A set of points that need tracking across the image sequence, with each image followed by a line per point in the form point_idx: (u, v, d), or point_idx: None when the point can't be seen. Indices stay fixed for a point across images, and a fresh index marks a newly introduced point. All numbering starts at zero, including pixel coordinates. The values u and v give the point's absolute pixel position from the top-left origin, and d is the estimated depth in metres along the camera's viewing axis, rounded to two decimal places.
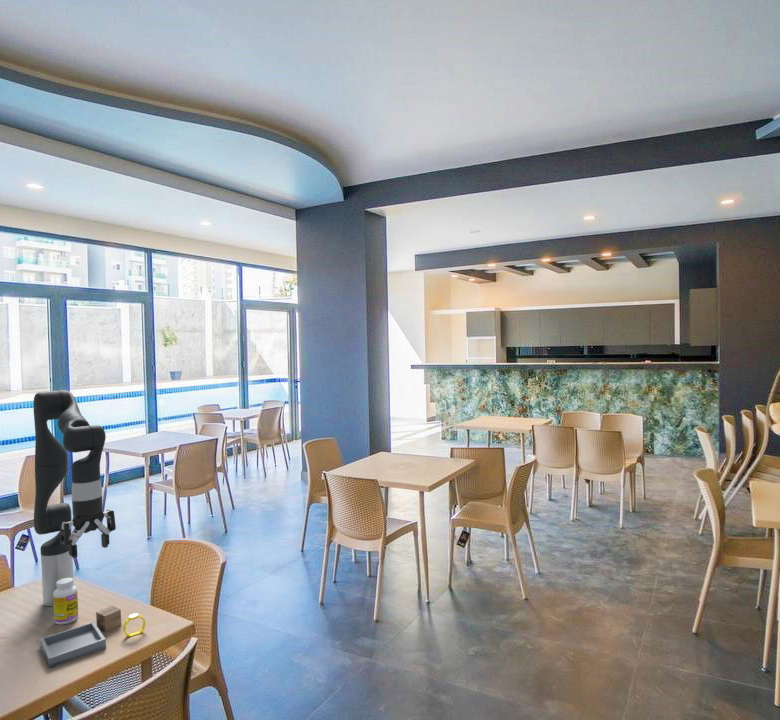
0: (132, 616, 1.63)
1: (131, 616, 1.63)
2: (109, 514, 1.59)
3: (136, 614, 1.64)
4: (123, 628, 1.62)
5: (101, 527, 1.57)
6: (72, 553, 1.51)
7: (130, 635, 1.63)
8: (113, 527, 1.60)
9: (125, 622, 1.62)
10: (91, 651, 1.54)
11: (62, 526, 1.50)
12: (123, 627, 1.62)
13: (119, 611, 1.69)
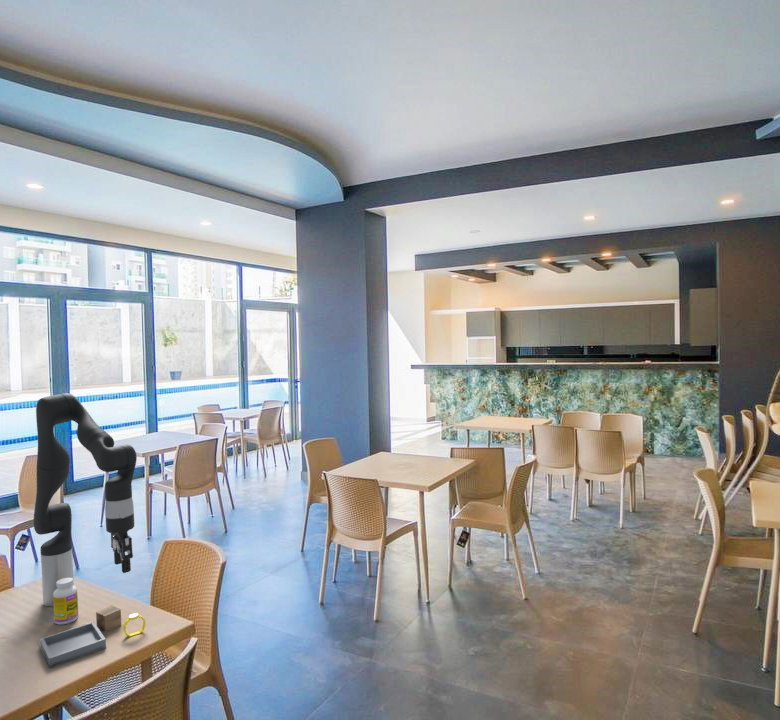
0: (132, 616, 1.63)
1: (131, 616, 1.63)
2: None
3: (136, 614, 1.64)
4: (123, 628, 1.62)
5: None
6: None
7: (130, 635, 1.63)
8: None
9: (125, 622, 1.62)
10: (91, 651, 1.54)
11: (126, 542, 1.56)
12: (123, 627, 1.62)
13: (119, 611, 1.69)
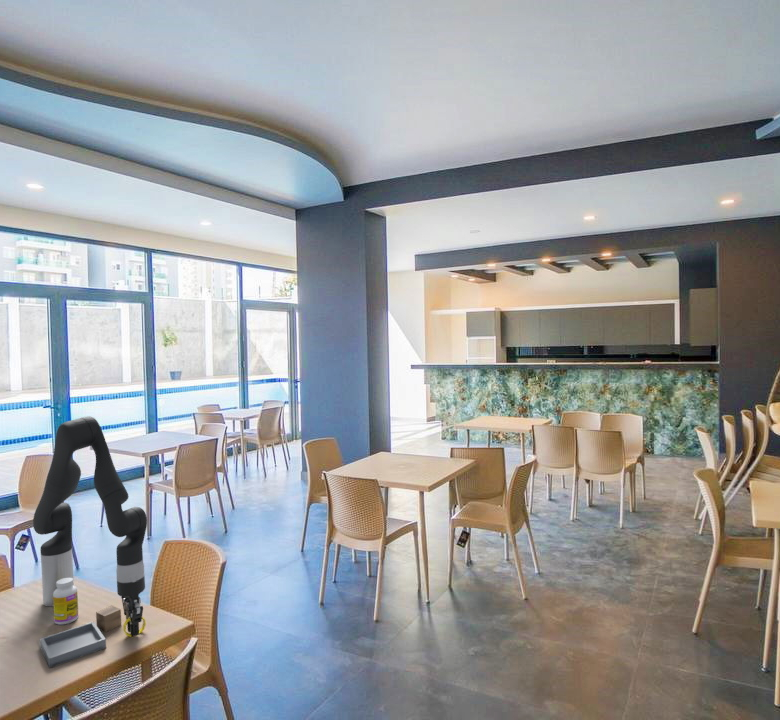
0: None
1: None
2: None
3: None
4: (123, 628, 1.62)
5: None
6: None
7: (130, 635, 1.63)
8: None
9: (125, 622, 1.62)
10: (91, 651, 1.54)
11: (138, 612, 1.58)
12: (123, 627, 1.62)
13: (119, 611, 1.69)
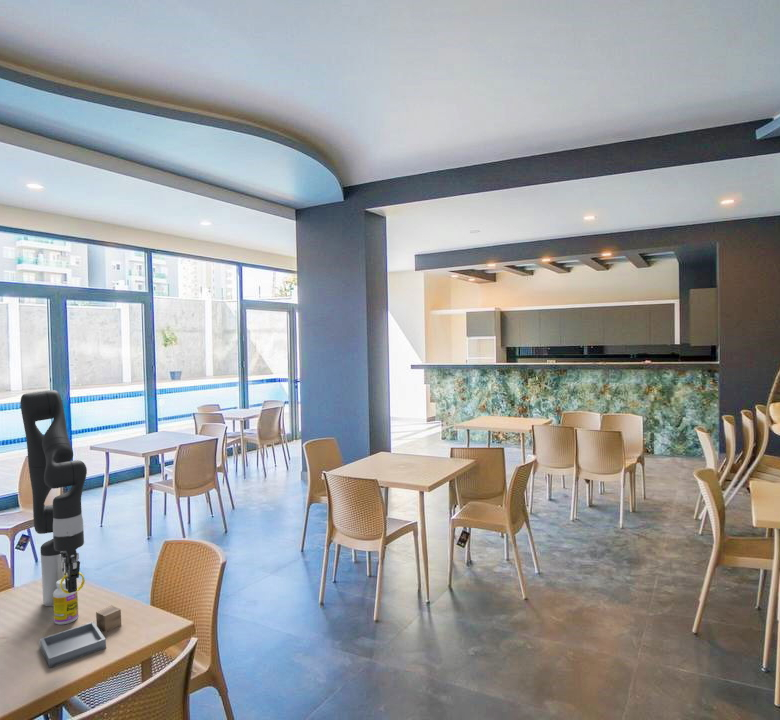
0: None
1: None
2: None
3: None
4: (60, 584, 1.56)
5: None
6: (75, 586, 1.56)
7: (68, 592, 1.56)
8: None
9: (62, 578, 1.56)
10: (91, 651, 1.54)
11: (74, 566, 1.52)
12: (60, 583, 1.56)
13: (119, 611, 1.69)
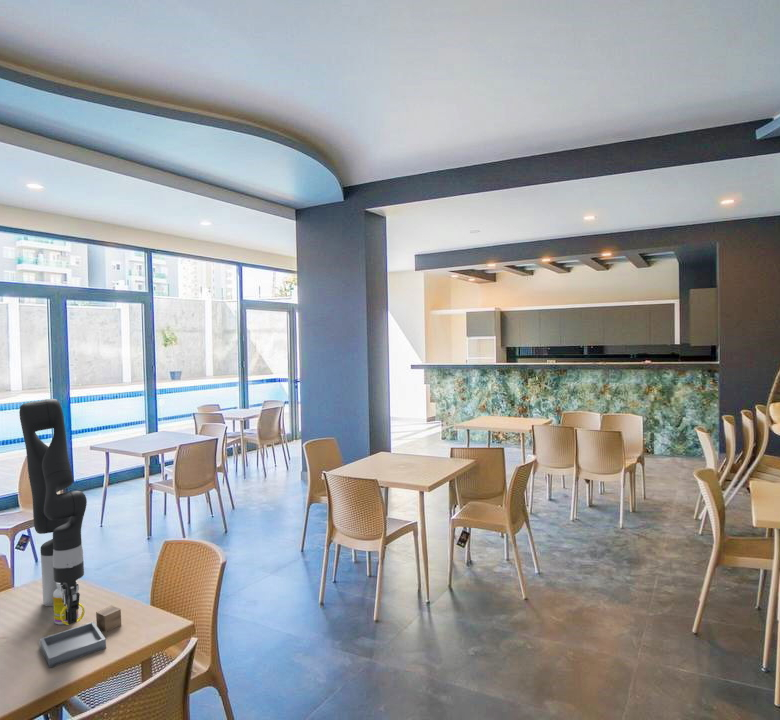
0: None
1: None
2: None
3: None
4: (60, 616, 1.56)
5: None
6: (75, 618, 1.56)
7: (67, 623, 1.56)
8: None
9: (62, 610, 1.56)
10: (91, 651, 1.54)
11: (74, 598, 1.52)
12: (60, 615, 1.56)
13: (119, 611, 1.69)
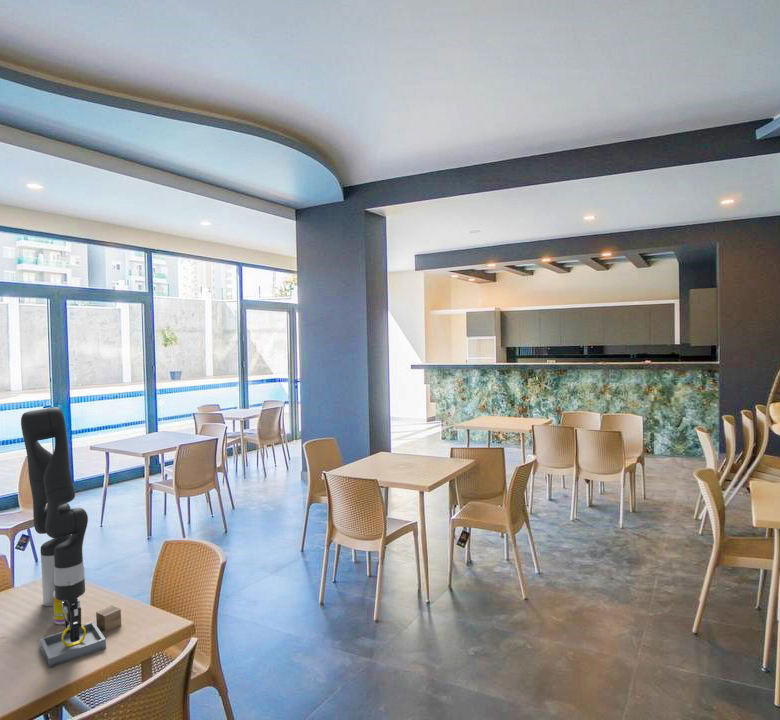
0: None
1: None
2: None
3: None
4: None
5: None
6: (78, 635, 1.55)
7: (69, 645, 1.57)
8: None
9: (64, 631, 1.56)
10: (91, 651, 1.54)
11: (75, 613, 1.52)
12: None
13: (119, 611, 1.69)
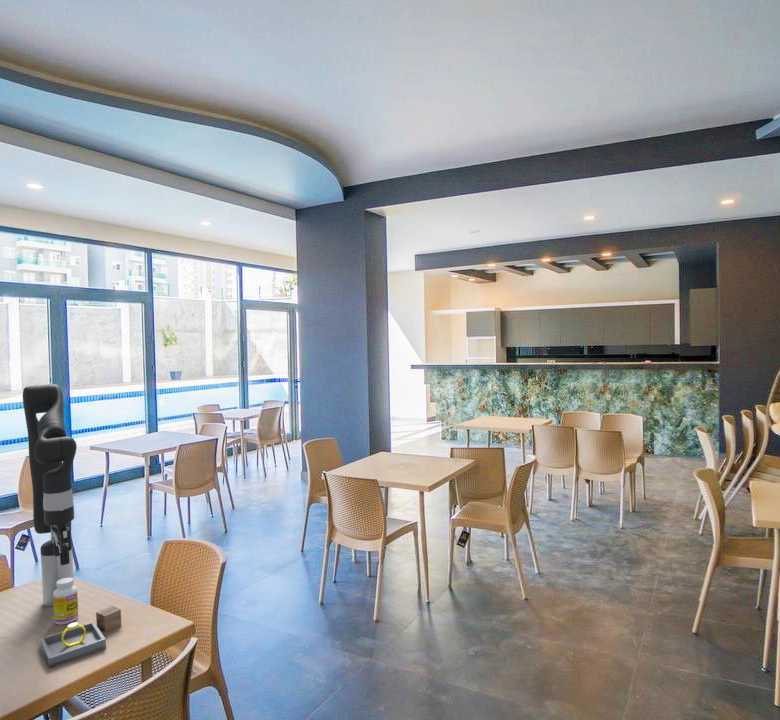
0: (71, 625, 1.57)
1: (70, 625, 1.57)
2: None
3: (76, 623, 1.58)
4: None
5: None
6: (68, 559, 1.57)
7: (69, 645, 1.57)
8: None
9: (64, 631, 1.56)
10: (91, 651, 1.54)
11: (64, 534, 1.54)
12: None
13: (119, 611, 1.69)
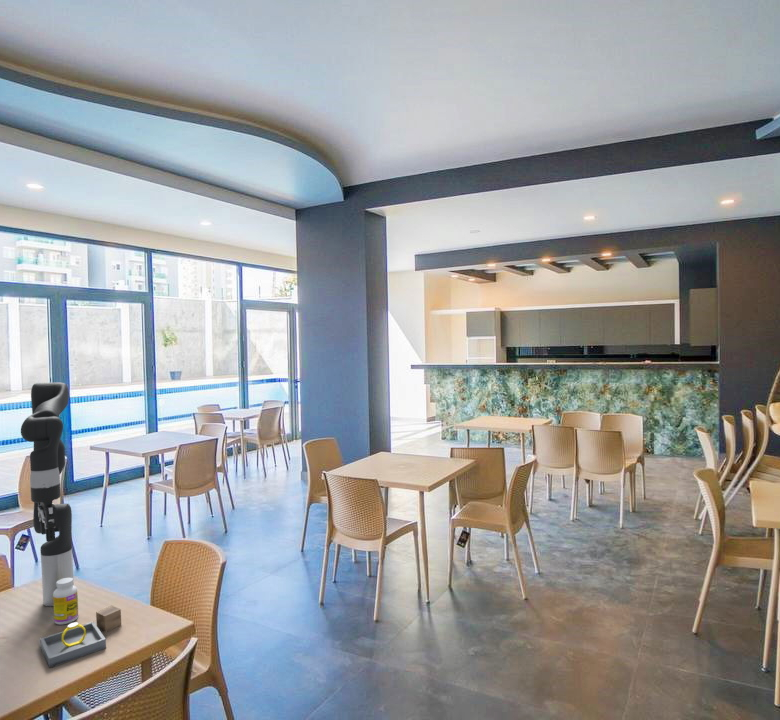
0: (71, 625, 1.57)
1: (70, 625, 1.57)
2: None
3: (76, 623, 1.58)
4: None
5: None
6: (53, 535, 1.60)
7: (69, 645, 1.57)
8: None
9: (64, 631, 1.56)
10: (91, 651, 1.54)
11: (50, 511, 1.58)
12: None
13: (119, 611, 1.69)
